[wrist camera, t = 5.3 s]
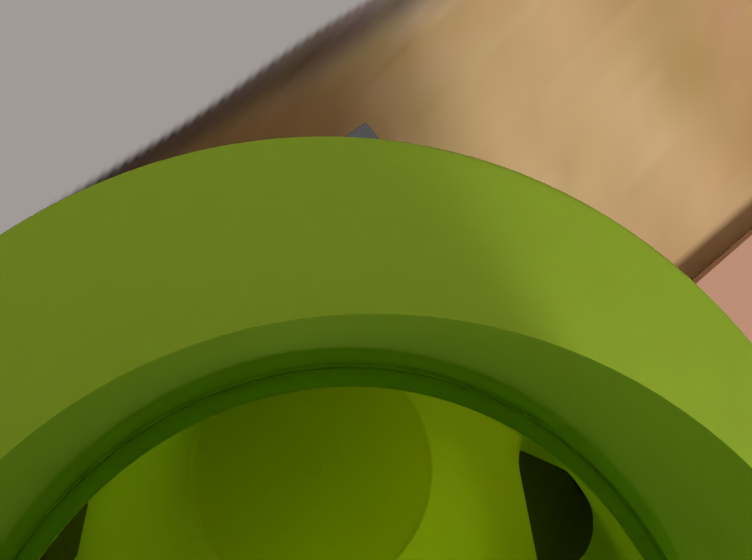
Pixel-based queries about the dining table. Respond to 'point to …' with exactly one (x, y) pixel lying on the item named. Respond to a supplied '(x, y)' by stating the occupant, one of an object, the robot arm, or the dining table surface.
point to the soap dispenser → (357, 366)
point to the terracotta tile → (732, 283)
